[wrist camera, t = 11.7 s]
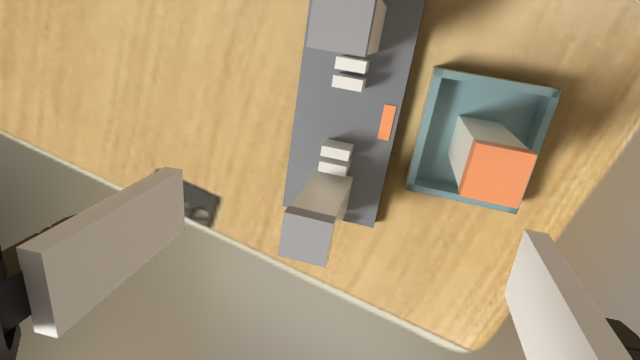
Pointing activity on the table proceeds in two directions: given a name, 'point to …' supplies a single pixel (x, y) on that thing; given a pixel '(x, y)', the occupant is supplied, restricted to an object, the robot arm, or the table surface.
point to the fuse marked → (489, 162)
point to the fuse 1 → (346, 26)
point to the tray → (481, 103)
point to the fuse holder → (353, 112)
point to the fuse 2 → (315, 219)
